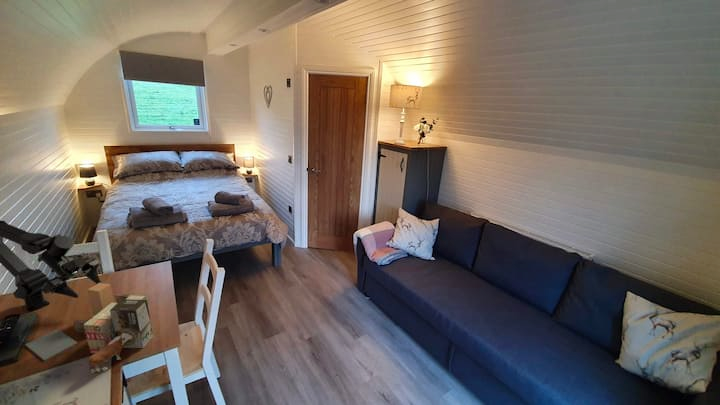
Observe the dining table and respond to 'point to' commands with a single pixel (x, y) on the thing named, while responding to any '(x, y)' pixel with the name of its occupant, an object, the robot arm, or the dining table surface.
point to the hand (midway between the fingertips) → (89, 290)
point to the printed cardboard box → (102, 327)
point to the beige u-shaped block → (80, 323)
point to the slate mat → (51, 344)
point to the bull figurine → (108, 352)
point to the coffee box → (132, 322)
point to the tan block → (100, 297)
